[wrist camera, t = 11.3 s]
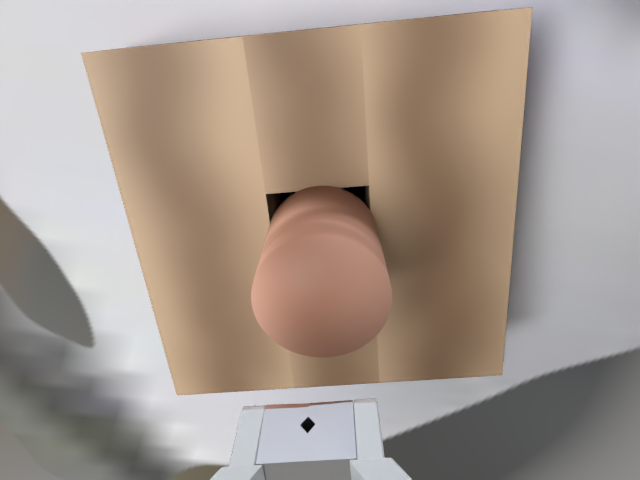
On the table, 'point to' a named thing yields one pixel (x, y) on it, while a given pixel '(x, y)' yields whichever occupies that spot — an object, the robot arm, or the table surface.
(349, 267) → the peg
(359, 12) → the table surface
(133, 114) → the board
